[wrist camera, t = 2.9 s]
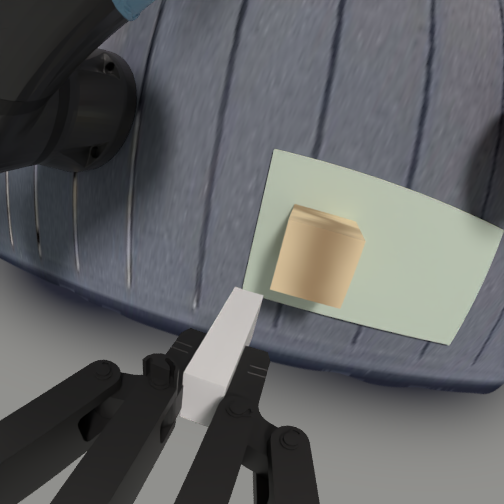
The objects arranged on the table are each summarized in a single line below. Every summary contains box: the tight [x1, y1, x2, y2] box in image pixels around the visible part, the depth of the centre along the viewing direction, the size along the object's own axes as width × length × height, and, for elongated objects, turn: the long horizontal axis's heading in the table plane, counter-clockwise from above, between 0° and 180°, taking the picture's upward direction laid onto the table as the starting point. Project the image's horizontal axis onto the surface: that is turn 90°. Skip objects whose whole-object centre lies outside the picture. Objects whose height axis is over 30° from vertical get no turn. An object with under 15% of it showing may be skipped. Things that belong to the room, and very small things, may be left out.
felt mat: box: [242, 149, 504, 345], centre depth 27 cm, size 26×15×1 cm, turn 78°
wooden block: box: [270, 204, 366, 309], centre depth 25 cm, size 6×6×6 cm
